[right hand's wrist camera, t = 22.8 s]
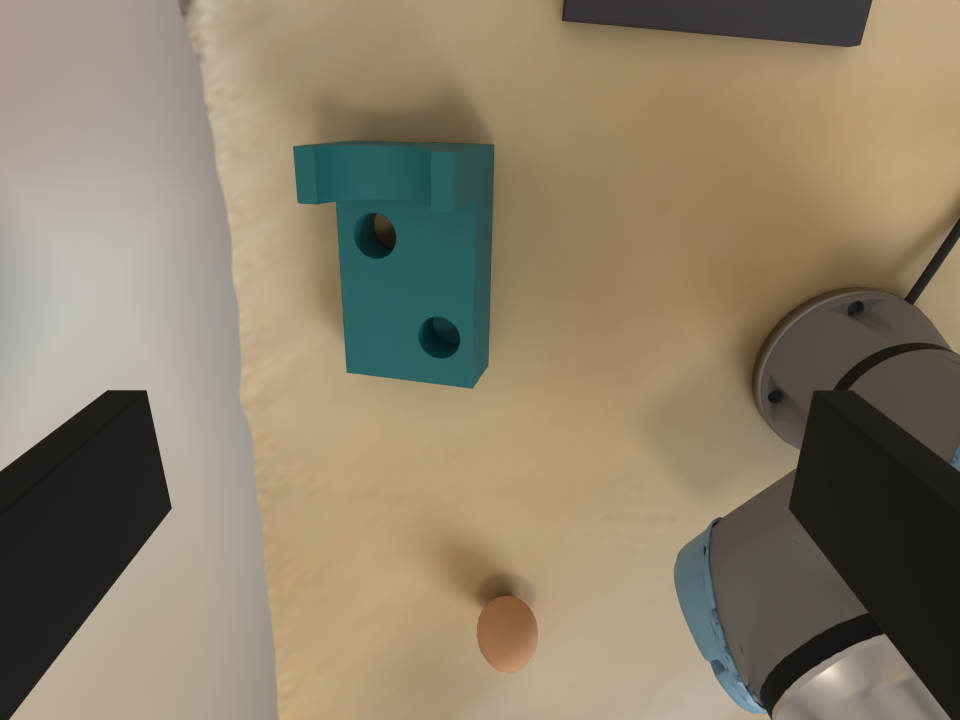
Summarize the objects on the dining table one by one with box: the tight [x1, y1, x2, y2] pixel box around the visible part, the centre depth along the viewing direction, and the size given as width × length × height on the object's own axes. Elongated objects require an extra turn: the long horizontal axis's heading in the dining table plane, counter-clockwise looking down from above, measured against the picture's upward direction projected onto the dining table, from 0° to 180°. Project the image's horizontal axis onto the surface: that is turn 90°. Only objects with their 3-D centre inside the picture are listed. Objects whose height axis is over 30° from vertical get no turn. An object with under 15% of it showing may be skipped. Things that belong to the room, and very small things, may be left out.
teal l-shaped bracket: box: [293, 141, 494, 389], centre depth 48 cm, size 18×11×10 cm, turn 179°
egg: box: [477, 596, 538, 673], centre depth 62 cm, size 6×6×8 cm
